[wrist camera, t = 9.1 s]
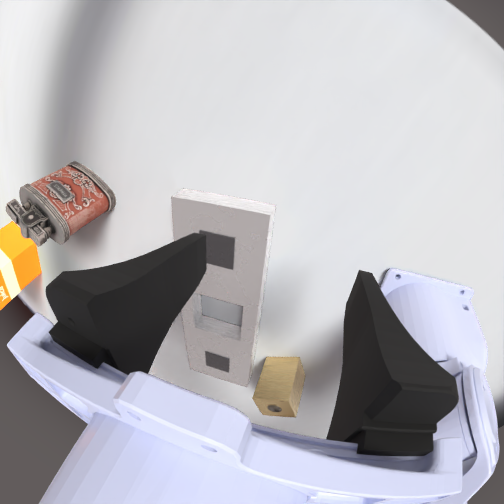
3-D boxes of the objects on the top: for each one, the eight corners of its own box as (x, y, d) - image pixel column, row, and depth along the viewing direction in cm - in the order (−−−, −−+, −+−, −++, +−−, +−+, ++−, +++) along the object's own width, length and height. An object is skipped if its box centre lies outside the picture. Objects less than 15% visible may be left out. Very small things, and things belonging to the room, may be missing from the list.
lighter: (119, 192, 25) (44, 241, 17) (112, 216, 27) (44, 267, 19) (72, 154, 24) (-1, 190, 16) (67, 178, 26) (1, 216, 18)
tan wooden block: (299, 356, 30) (288, 401, 25) (305, 376, 32) (295, 417, 27) (266, 356, 31) (252, 398, 26) (275, 375, 33) (262, 415, 28)
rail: (276, 204, 21) (270, 215, 19) (251, 375, 34) (246, 387, 33) (183, 188, 23) (170, 197, 21) (196, 357, 36) (189, 369, 34)
